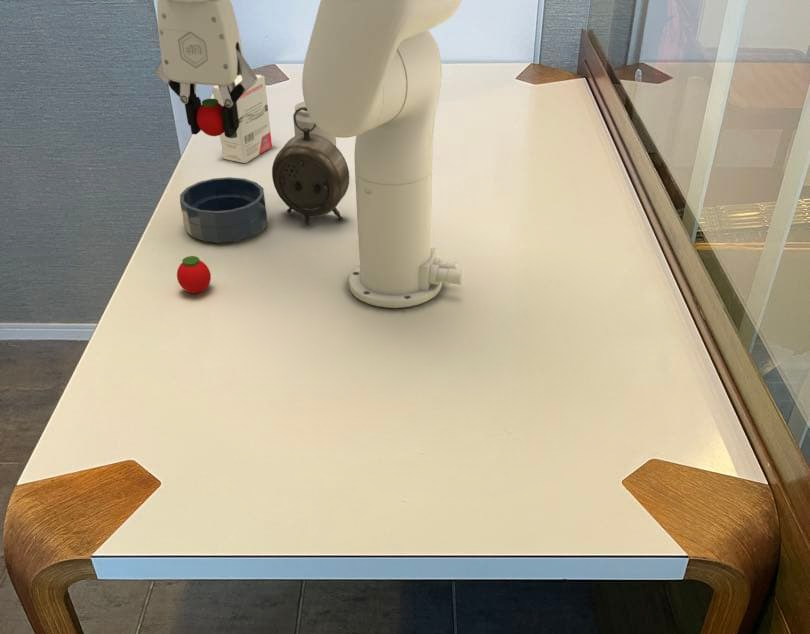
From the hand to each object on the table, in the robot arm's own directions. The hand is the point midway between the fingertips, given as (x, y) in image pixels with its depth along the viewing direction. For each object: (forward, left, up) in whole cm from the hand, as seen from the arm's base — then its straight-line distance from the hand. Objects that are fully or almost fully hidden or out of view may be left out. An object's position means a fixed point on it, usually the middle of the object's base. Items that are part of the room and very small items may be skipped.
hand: (214, 130), depth 121 cm
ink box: (+7, -27, -14) cm, 31 cm away
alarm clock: (-12, -4, -14) cm, 19 cm away
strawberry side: (-3, +20, -14) cm, 24 cm away
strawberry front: (0, 0, -1) cm, 1 cm away
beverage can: (-9, -17, -14) cm, 24 cm away
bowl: (0, +1, -14) cm, 14 cm away
